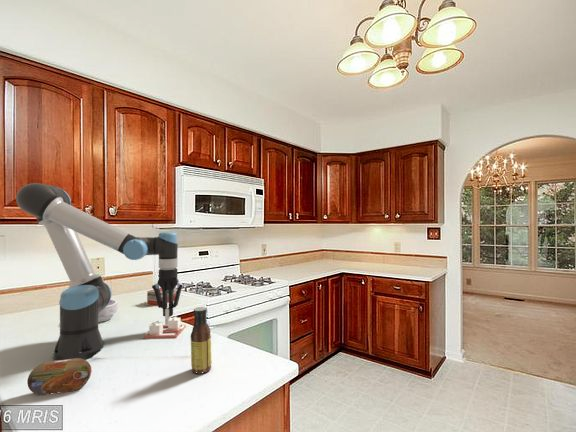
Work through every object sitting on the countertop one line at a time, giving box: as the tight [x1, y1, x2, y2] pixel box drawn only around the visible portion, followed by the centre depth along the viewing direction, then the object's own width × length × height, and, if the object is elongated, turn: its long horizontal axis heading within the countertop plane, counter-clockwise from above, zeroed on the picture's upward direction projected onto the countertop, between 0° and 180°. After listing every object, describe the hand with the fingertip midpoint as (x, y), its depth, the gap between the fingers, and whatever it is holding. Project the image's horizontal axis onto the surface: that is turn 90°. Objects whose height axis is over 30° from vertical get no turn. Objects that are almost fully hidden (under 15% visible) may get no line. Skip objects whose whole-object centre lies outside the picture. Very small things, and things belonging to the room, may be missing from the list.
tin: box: [26, 358, 93, 396], centre depth 89 cm, size 15×3×8 cm, turn 105°
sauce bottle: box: [190, 306, 212, 373], centre depth 101 cm, size 6×6×20 cm
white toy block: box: [167, 316, 182, 330], centre depth 134 cm, size 4×4×5 cm
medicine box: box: [146, 286, 178, 307], centre depth 185 cm, size 15×8×8 cm, turn 156°
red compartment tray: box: [142, 324, 187, 340], centre depth 131 cm, size 13×13×2 cm
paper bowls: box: [98, 299, 119, 323], centre depth 152 cm, size 15×15×8 cm
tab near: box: [148, 320, 164, 335], centre depth 128 cm, size 4×4×5 cm
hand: (167, 323), depth 134 cm, fingers closed
